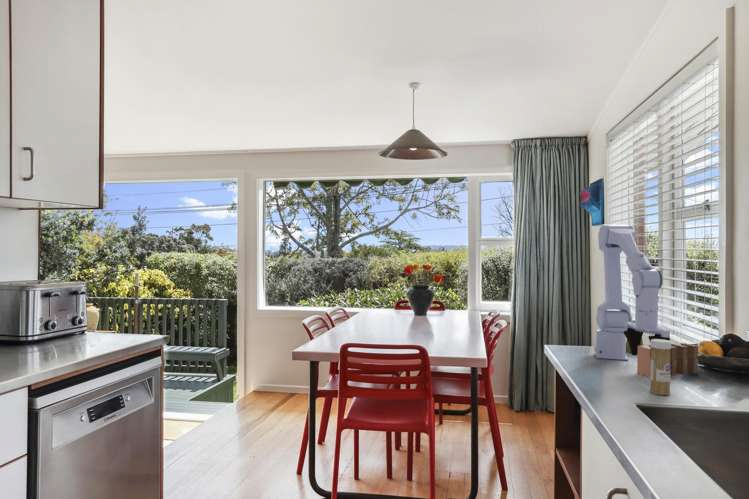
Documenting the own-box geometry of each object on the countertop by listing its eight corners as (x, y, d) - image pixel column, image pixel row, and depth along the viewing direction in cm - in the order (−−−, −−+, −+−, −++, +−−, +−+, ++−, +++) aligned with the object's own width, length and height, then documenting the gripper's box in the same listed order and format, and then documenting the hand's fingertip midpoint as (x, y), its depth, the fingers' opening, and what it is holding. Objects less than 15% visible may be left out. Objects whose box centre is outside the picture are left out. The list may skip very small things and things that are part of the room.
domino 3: (683, 374, 146) (683, 346, 146) (670, 370, 151) (670, 343, 151) (687, 373, 147) (687, 346, 147) (674, 370, 151) (674, 343, 151)
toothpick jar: (665, 397, 124) (666, 342, 124) (646, 392, 127) (647, 339, 127) (673, 394, 126) (674, 340, 126) (654, 389, 130) (655, 337, 130)
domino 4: (693, 373, 147) (694, 346, 147) (680, 369, 152) (681, 343, 152) (697, 373, 148) (698, 345, 148) (684, 369, 152) (684, 343, 152)
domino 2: (672, 375, 145) (672, 347, 145) (659, 371, 149) (659, 344, 149) (676, 374, 146) (676, 347, 145) (663, 371, 150) (663, 344, 150)
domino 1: (649, 376, 143) (649, 348, 143) (637, 373, 147) (637, 345, 147) (653, 376, 143) (654, 348, 143) (641, 372, 148) (641, 345, 148)
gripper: (616, 307, 151) (615, 353, 151) (655, 314, 137) (654, 364, 137) (635, 307, 153) (634, 351, 153) (676, 314, 139) (675, 363, 139)
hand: (645, 357), depth 145 cm, fingers open, 7 cm apart
